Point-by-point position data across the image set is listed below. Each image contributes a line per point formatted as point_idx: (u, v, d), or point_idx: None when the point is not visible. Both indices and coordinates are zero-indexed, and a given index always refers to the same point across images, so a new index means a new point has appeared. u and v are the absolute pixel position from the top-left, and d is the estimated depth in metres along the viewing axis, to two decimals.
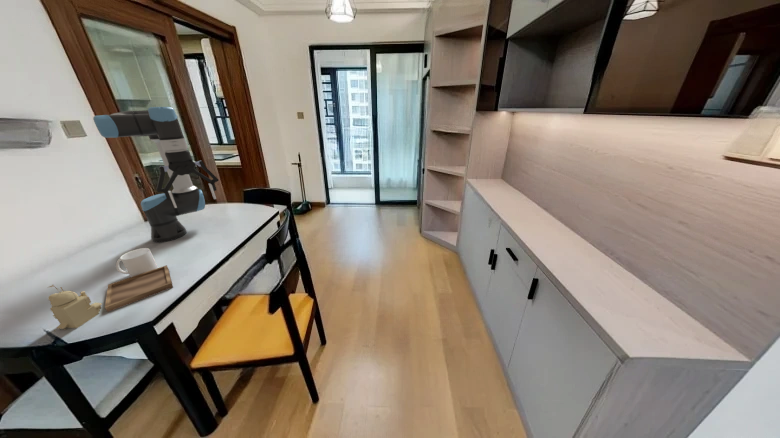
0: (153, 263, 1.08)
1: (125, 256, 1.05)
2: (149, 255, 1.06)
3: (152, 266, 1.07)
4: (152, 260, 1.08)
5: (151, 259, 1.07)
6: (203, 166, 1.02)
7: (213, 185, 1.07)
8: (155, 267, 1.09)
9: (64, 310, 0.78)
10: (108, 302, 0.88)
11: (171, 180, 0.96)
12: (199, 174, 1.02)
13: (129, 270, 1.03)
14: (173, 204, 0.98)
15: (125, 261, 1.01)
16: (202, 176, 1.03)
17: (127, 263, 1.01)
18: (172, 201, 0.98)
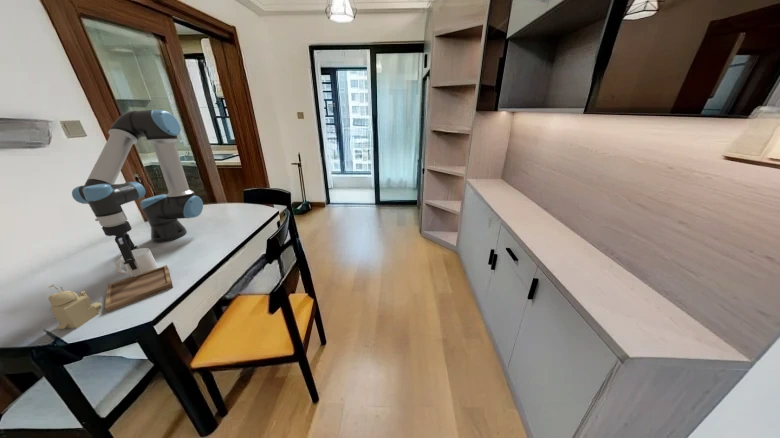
0: (153, 263, 1.08)
1: None
2: (149, 255, 1.06)
3: (152, 266, 1.07)
4: (152, 260, 1.08)
5: (151, 259, 1.07)
6: (118, 245, 0.96)
7: (129, 264, 0.99)
8: (155, 267, 1.09)
9: (64, 310, 0.78)
10: (108, 302, 0.88)
11: None
12: None
13: (129, 270, 1.03)
14: None
15: None
16: None
17: None
18: None
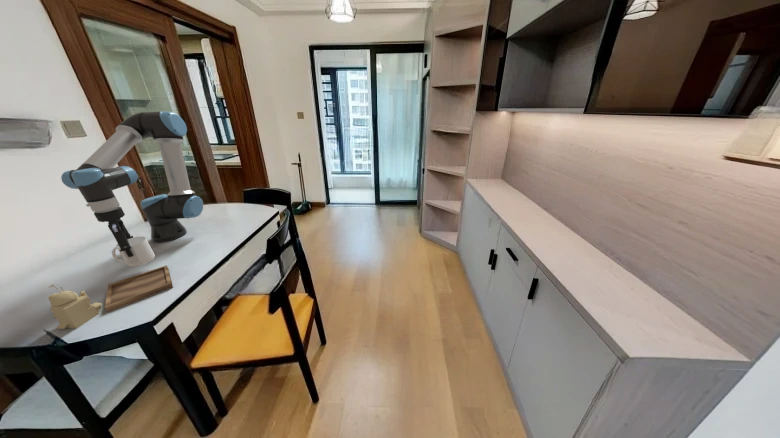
0: (150, 252, 1.07)
1: None
2: (145, 244, 1.05)
3: (149, 255, 1.07)
4: (149, 249, 1.07)
5: (148, 247, 1.07)
6: None
7: (126, 252, 0.99)
8: (152, 256, 1.08)
9: (64, 310, 0.78)
10: (108, 302, 0.88)
11: None
12: None
13: (125, 258, 1.02)
14: None
15: None
16: None
17: (123, 252, 1.01)
18: None
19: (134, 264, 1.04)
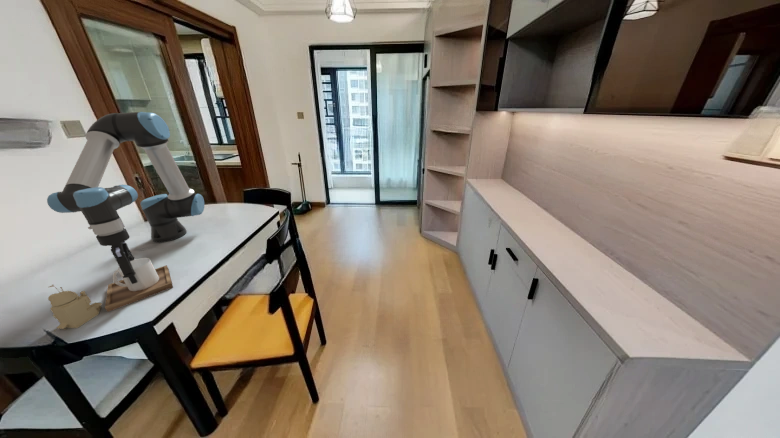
0: (154, 274, 0.98)
1: None
2: (149, 266, 0.96)
3: (153, 278, 0.97)
4: (153, 271, 0.98)
5: (152, 270, 0.97)
6: None
7: (129, 278, 0.90)
8: (156, 279, 0.99)
9: (64, 310, 0.78)
10: (108, 302, 0.88)
11: None
12: None
13: (127, 283, 0.93)
14: None
15: None
16: None
17: None
18: None
19: None
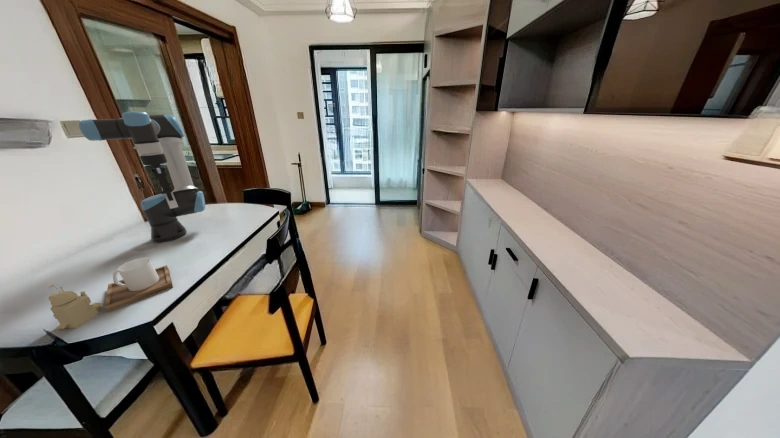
0: (154, 274, 0.98)
1: (123, 267, 0.95)
2: (149, 266, 0.96)
3: (153, 278, 0.97)
4: (153, 271, 0.98)
5: (152, 270, 0.97)
6: (156, 174, 0.97)
7: (166, 195, 1.00)
8: (156, 279, 0.99)
9: (64, 310, 0.78)
10: (108, 302, 0.88)
11: None
12: None
13: (127, 283, 0.93)
14: None
15: (123, 273, 0.91)
16: (160, 183, 1.00)
17: (125, 275, 0.91)
18: None
19: (136, 289, 0.94)
